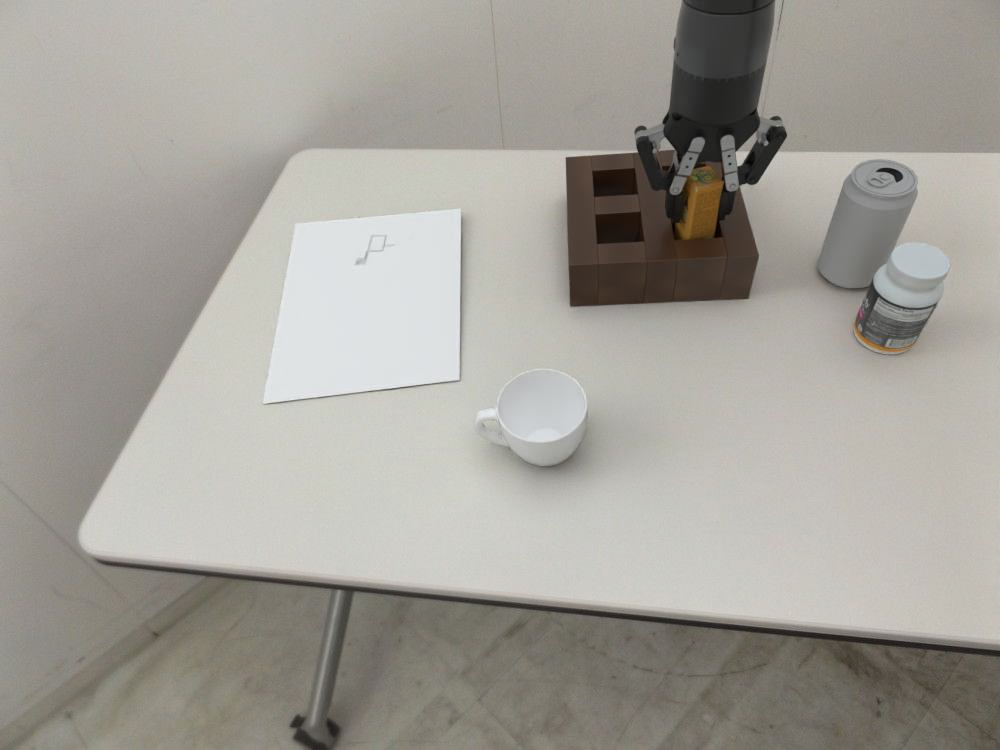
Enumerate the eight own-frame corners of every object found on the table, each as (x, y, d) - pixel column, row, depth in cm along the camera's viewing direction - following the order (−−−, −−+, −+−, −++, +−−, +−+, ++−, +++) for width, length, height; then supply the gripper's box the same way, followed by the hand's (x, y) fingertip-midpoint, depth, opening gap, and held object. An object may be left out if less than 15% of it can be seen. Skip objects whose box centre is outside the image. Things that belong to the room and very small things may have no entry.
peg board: (721, 189, 83) (728, 145, 79) (748, 298, 72) (759, 255, 67) (567, 198, 85) (565, 156, 81) (570, 306, 74) (568, 265, 69)
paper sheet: (482, 213, 85) (481, 206, 84) (457, 408, 68) (456, 402, 67) (300, 219, 88) (297, 212, 87) (233, 408, 71) (229, 402, 70)
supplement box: (713, 260, 73) (726, 181, 66) (683, 269, 73) (693, 191, 65) (699, 241, 75) (710, 163, 68) (670, 249, 75) (678, 172, 67)
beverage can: (894, 273, 72) (938, 177, 62) (852, 302, 70) (892, 207, 61) (842, 243, 75) (877, 147, 66) (802, 269, 74) (832, 175, 64)
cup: (591, 481, 60) (590, 440, 55) (478, 486, 61) (467, 445, 56) (585, 410, 65) (584, 365, 60) (481, 415, 66) (471, 371, 61)
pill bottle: (862, 306, 69) (895, 229, 62) (923, 327, 67) (966, 249, 59) (843, 343, 67) (875, 267, 59) (905, 366, 64) (947, 290, 57)
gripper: (637, 82, 55) (629, 245, 69) (821, 67, 54) (776, 237, 67) (630, 37, 60) (624, 198, 73) (799, 22, 59) (761, 189, 72)
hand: (697, 216), depth 70 cm, fingers closed on supplement box, 3 cm apart
